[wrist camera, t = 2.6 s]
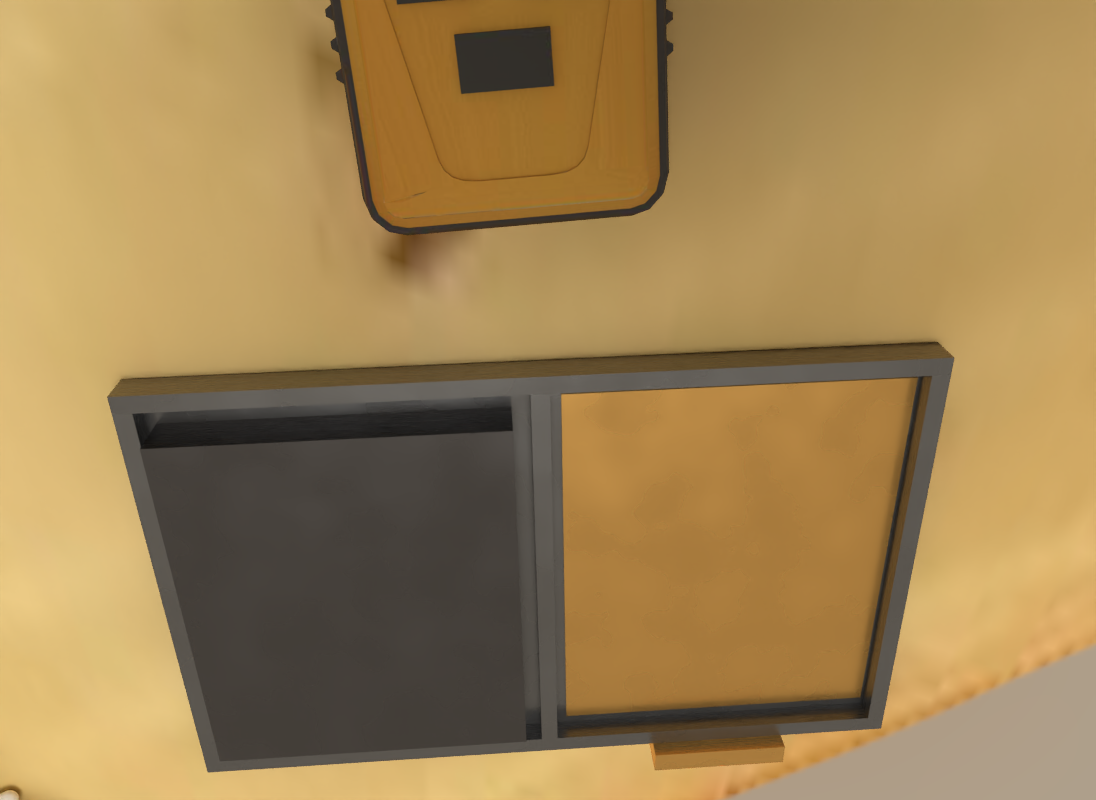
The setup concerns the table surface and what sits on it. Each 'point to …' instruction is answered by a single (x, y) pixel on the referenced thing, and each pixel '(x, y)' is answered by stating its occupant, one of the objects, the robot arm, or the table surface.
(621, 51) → the electronic device
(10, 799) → the figurine
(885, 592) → the grey flat frame
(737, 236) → the table surface
